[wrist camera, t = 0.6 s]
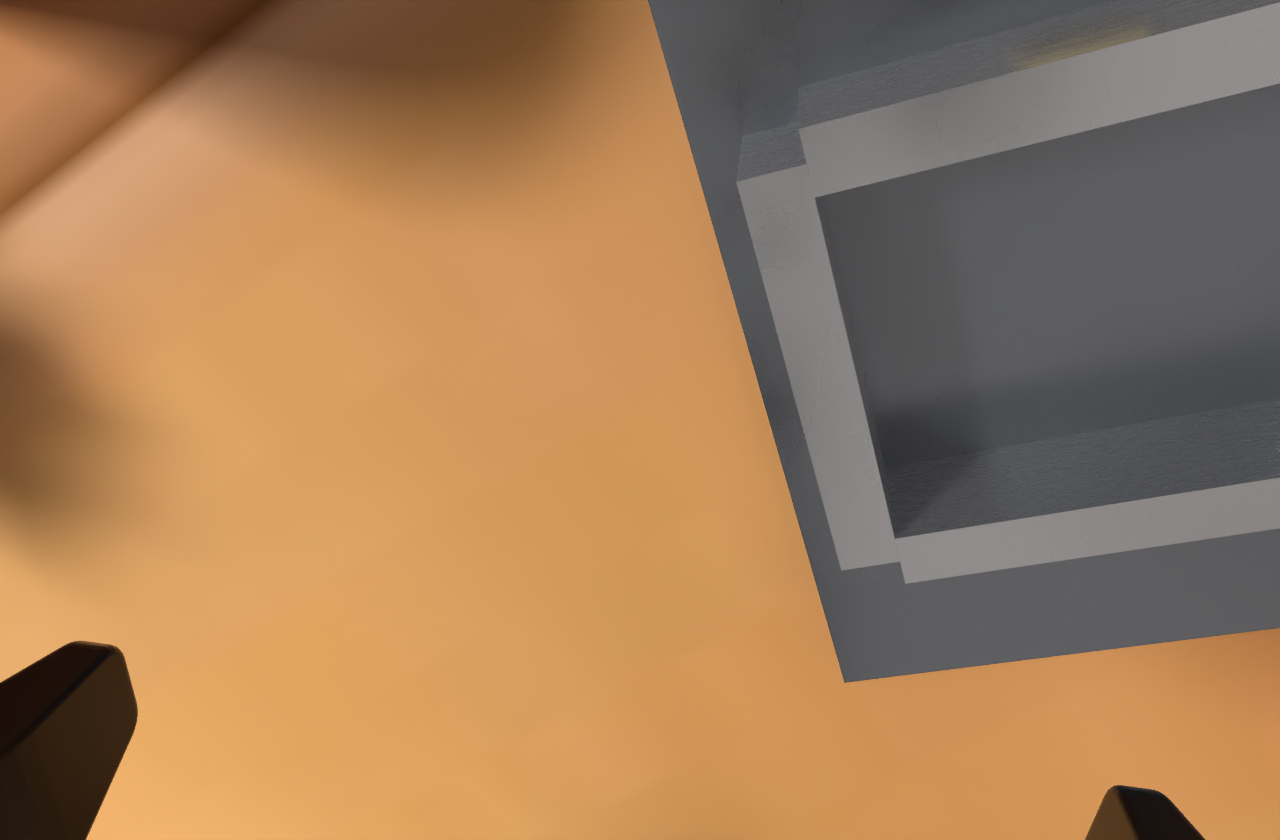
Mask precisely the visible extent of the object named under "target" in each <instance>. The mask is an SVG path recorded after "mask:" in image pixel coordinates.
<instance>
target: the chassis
mask: <svg viewBox="0 0 1280 840" xmlns="http://www.w3.org/2000/svg"><path fill="white" fill-rule="evenodd" d="M648 2H649V5H650V8H651V12H652V15H653V19H654V22H655V26H656V29H657V33H658V36H659V40H660V43H661V47H662V50H663V54H664V57H665V61H666V64H667V68H668V71H669V74H670V78H671V81H672V85H673V88H674V92H675V95H676V99H677V102H678V106H679V109H680V113H681V116H682V120H683V123H684V127H685V130H686V134H687V137H688V140H689V144H690V147H691V151H692V154H693V158H694V161H695V165H696V168H697V172H698V175H699V179H700V182H701V186H702V189H703V193H704V196H705V199H706V203H707V206H708V210H709V213H710V217H711V220H712V224H713V227H714V231H715V234H716V238H717V241H718V245H719V248H720V252H721V255H722V259H723V262H724V265H725V269H726V272H727V276H728V279H729V283H730V286H731V290H732V293H733V297H734V300H735V304H736V307H737V311H738V314H739V318H740V321H741V325H742V328H743V331H744V335H745V338H746V342H747V345H748V349H749V352H750V356H751V359H752V363H753V366H754V370H755V373H756V377H757V380H758V384H759V387H760V391H761V394H762V397H763V401H764V404H765V408H766V411H767V415H768V418H769V422H770V425H771V429H772V432H773V436H774V439H775V443H776V446H777V450H778V453H779V457H780V460H781V463H782V467H783V470H784V474H785V477H786V481H787V484H788V488H789V491H790V495H791V498H792V502H793V505H794V509H795V512H796V516H797V519H798V523H799V526H800V529H801V533H802V536H803V540H804V543H805V547H806V550H807V554H808V557H809V561H810V564H811V568H812V571H813V575H814V578H815V582H816V585H817V589H818V592H819V595H820V599H821V602H822V606H823V609H824V613H825V616H826V620H827V623H828V627H829V630H830V634H831V637H832V641H833V644H834V648H835V651H836V654H837V658H838V661H839V665H840V668H841V672H842V675H843V679H844V682H845V683H846V682H854V681H862V680H870V679H878V678H886V677H894V676H902V675H909V674H917V673H925V672H933V671H941V670H949V669H957V668H965V667H973V666H981V665H989V664H997V663H1005V662H1013V661H1021V660H1028V659H1036V658H1044V657H1052V656H1060V655H1068V654H1076V653H1084V652H1092V651H1100V650H1108V649H1116V648H1124V647H1132V646H1139V645H1147V644H1155V643H1163V642H1171V641H1179V640H1187V639H1195V638H1203V637H1211V636H1219V635H1227V634H1235V633H1243V632H1251V631H1258V630H1266V629H1274V628H1280V0H648Z"/></svg>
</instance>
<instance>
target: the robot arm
mask: <svg viewBox="0 0 1280 840" xmlns="http://www.w3.org/2000/svg"><path fill="white" fill-rule="evenodd" d="M137 716H138V709H137V702H136V699H135V695H134V691H133V687H132V684H131V680H130V676H129V672H128V669H127V665H126V661H125V657H124V655H123V653H122V652H121V651H120V649H119V648H118V647H116V646H113V645H109V644H101V643H94V642H87V641H74V642H71V643H69V644H66V645H64V646H62V647H61V648H59V649H57V650H56V651H54V652H52V653H50V654H49V655H47V656H45V657H44V658H42V659H40V660H38V661H37V662H35V663H33V664H32V665H30V666H28V667H26V668H25V669H23V670H21V671H20V672H18V673H16V674H14V675H13V676H11V677H9V678H7V679H6V680H4V681H2V682H1V683H0V840H86V838H87V836H88V834H89V832H90V829H91V827H92V825H93V823H94V820H95V818H96V816H97V814H98V812H99V809H100V807H101V805H102V803H103V800H104V798H105V796H106V794H107V791H108V789H109V787H110V785H111V782H112V780H113V778H114V776H115V773H116V771H117V769H118V767H119V764H120V762H121V760H122V758H123V755H124V753H125V751H126V749H127V746H128V744H129V742H130V740H131V738H132V735H133V733H134V730H135V726H136V723H137ZM1085 840H1205V839H1204V838H1203V836H1202V835H1201V834H1200V833H1199V832H1198V831H1197V830H1196V829H1195V827H1194V826H1193V825H1192V824H1191V823H1190V822H1189V821H1188V820H1187V818H1186V817H1185V816H1184V815H1183V814H1182V813H1181V812H1180V811H1179V809H1178V808H1177V807H1176V806H1175V805H1174V804H1173V803H1172V802H1171V801H1170V800H1169V799H1168V798H1167V797H1166V796H1165V795H1163V794H1162V793H1160V792H1158V791H1155V790H1151V789H1144V788H1137V787H1129V786H1122V785H1117V786H1113V787H1112V788H1110V789H1109V790H1108V791H1107V793H1106V794H1105V796H1104V798H1103V801H1102V803H1101V805H1100V807H1099V809H1098V812H1097V814H1096V816H1095V818H1094V821H1093V823H1092V825H1091V827H1090V830H1089V832H1088V834H1087V836H1086V838H1085Z"/></svg>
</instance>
